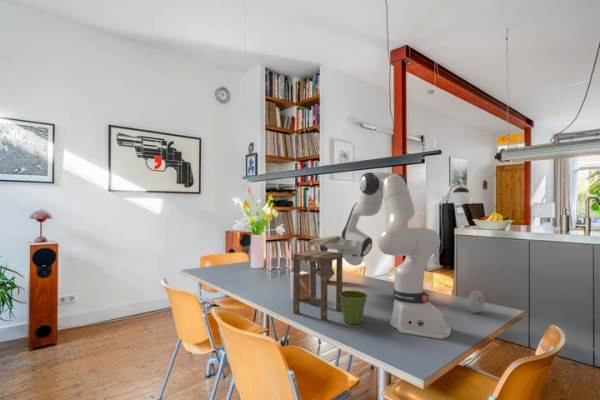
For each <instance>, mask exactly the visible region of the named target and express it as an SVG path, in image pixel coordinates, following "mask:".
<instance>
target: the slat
mask: <svg viewBox="0 0 600 400" xmlns="http://www.w3.org/2000/svg"><path fill="white" fill-rule="evenodd" d="M338 237H342V235H330V236H326V237H325V236H324V237H321V238H320V237H319V238H315V239H310V240H309V246H312V247H318V246H319V247H320V245H323V244H328V243H333V242H338V241H339V240H338Z"/></svg>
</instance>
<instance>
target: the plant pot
mask: <svg viewBox="0 0 600 400" xmlns="http://www.w3.org/2000/svg"><path fill="white" fill-rule="evenodd" d="M339 295H340V298H341V302H342V315H343V316H342V317H343V322H344V323H346V324H349V325H352V324H354V325H360V324H361V323H362V321H363V317H364V316H363V315H364V311H365V306H366V305H365V304H366V302H367V298H368V297H369V295H368V294H367V293H365V292H363V291H359V290H342V292H340V293H339Z"/></svg>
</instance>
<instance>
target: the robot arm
mask: <svg viewBox="0 0 600 400" xmlns="http://www.w3.org/2000/svg"><path fill="white" fill-rule="evenodd" d="M359 188H360V189H359V190H360V191H361V195H360V199H359V201H358V202H356V203H354V205H353V206H352V208H351V211H350V213H349V217H348V218H347V220H346V221H347V222H346V224H345V227H343V229H342V232H341V237H338V240H339V241H338V242H333V243H328V244H323V245H324V246H325V247H326V248H328V249H329V250H335V251H337V253H343V256H342V259H343V260H345V262H347V263H348V264H349V265H351V266H355V267H356V266H360V265H361V264H362V263H363V261H364V257H365V256H366V255H368V254H369V253H370V252H371V250H372V248H373V239H372V237H371V236H369V235H368V234H366V233H364V232H363V231H361V230H359V228H357V224H358V222H359V220H360V217H361V216H362V217H372V216H375V215H377V214H378V213H379V212H380V210H381V209H382V205H383V201H384V206H385V211H386V215H387V217H386V218H387V222H386V224H385V227H384V228H383V230H382V231H380V233H379V235H378V236H377V237H378V238H377V245H378V249H379V250H380V251H381V252H382V254H384V255H388V256H394V257H397V256H399V257H402V256H405V258H404V260H403V262H402V263H400V264H398V265H397V266H396V268H395V269H394V282H393V283H394V288H393V290H392V300H393V301H392V302H393V306H392V307H393V309H392V315H391V318H390V320H389V321H390V322H389V324H390V325H391V327H393V328H395V329H397V331H398V332H399V333H401V334H407V335H408V334H409V335H412V336H413V335H415V336H420V337H426V338H433V339H439V340H440V339H441V340H442V339H446V338H448V337H449V336H450V335H451V333H452V329H451V327H450V325H449V324H446V323H445V318H444V314H443V313H442V311H440V310H439V308H437V307H436V306H435V305H433V304H432V303H431V302H430V301H429V299H430V297H429V296H430V293H429V292H426V291H424V282H425V281H424V280H425V278H424V277H425V271H426V267H427V264H428V262H429V260H430V259H431V258H432V256H433V255H434V254H435V253H436V252H438V250H439V248H440V245H441V238H440V236H439V234H438V233H437V231H435V230H434V229H431V228H426V227H409V226H408V222H409V221H410V220H411V219H412V218H413V217H414V215H415V212H416V211H415V206H414V202H413V201H412V200H413V199H412V196H411V193H410V190H409V188H408V181H407V178H406V176H405V175H403V174H401V173H399V172H395V173H394V172H385V171H379V172H366V173H363V174H362V175H361V176H360V179H359Z"/></svg>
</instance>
